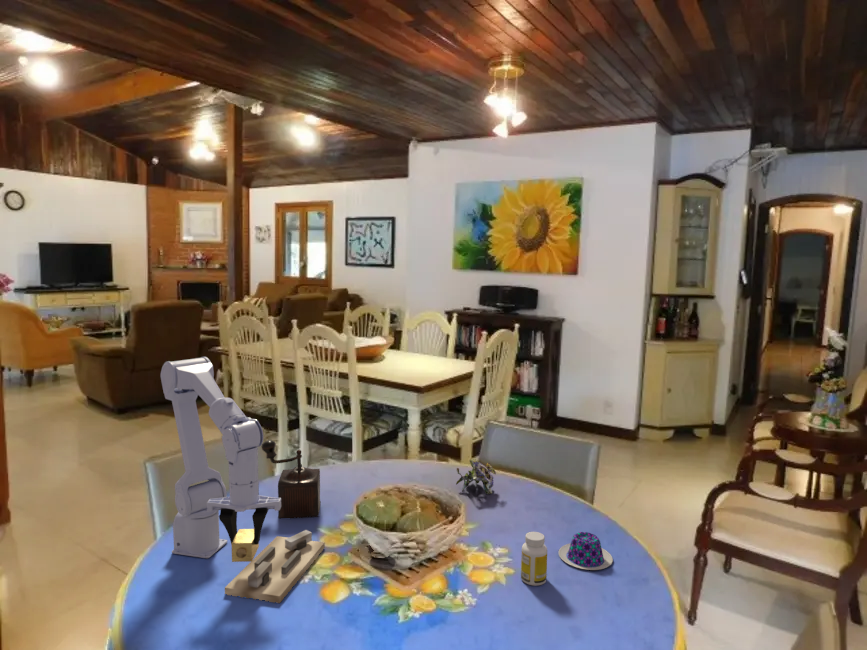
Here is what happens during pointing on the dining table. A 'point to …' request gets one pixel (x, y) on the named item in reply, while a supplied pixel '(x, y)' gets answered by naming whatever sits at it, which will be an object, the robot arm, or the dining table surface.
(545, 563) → the supplement bottle
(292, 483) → the brown manual coffee grinder
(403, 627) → the dining table surface
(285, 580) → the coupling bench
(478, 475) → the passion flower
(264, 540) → the dining table surface
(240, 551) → the block
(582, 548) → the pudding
